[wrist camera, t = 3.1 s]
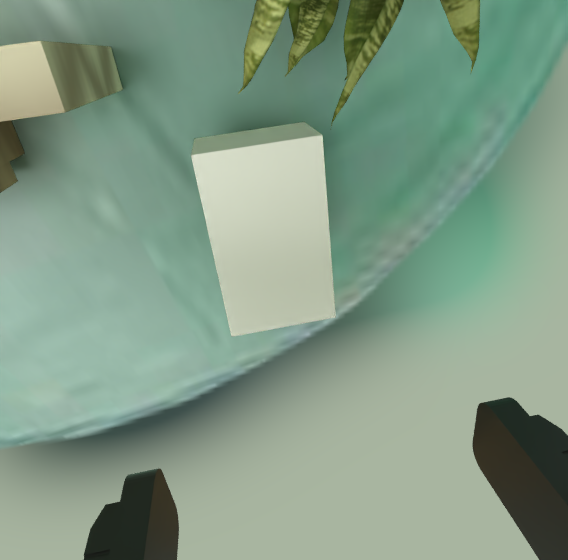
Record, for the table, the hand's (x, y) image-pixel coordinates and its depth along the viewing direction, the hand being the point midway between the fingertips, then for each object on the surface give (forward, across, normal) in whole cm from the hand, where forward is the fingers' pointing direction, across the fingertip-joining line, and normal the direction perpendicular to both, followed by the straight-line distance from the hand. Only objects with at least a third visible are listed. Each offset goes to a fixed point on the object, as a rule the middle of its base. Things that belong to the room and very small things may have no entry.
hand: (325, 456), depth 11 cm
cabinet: (+18, 0, -1) cm, 18 cm away
